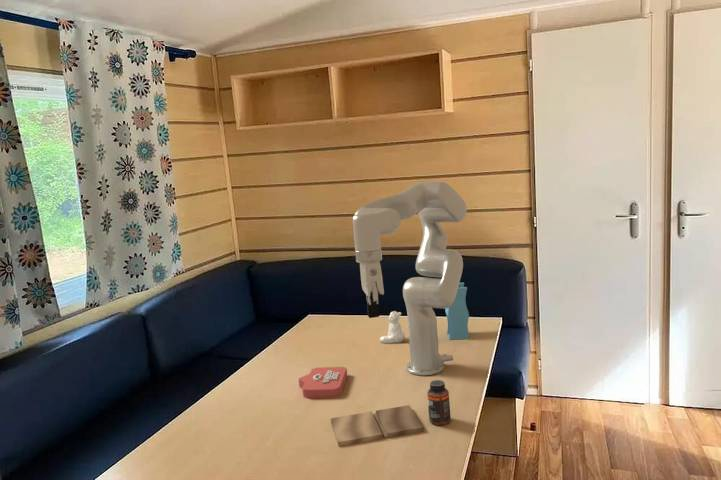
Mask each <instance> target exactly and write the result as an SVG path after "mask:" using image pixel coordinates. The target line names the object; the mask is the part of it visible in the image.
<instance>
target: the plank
mask: <svg viewBox="0 0 721 480" xmlns="http://www.w3.org/2000/svg"><path fill="white" fill-rule="evenodd" d="M373 413H374V412H373V411H366V412H361V413H360V412H359V413H355V414H348V415H343V416H337V417H331V418H330V424H331V427H332V430H333V433H334V436H335V440H336V443H337V446H338V447H340V446H342V447H343V446H348V445H353V444H358V443H365V442H371V441H375V440H382V439H384V437H383V434H382V432H381V430H380V428H379V426H378V424H377V422H376V419H375V417H374V415H373Z"/></svg>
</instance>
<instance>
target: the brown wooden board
mask: <svg viewBox="0 0 721 480" xmlns="http://www.w3.org/2000/svg"><path fill="white" fill-rule="evenodd" d="M372 413H373V415H374V417H375V420H376V422H377V424H378V426H379V428H380V430H381V432H382V435H383V439H387V438H391V437H399V436H404V435H410V434H415V433H421V432H422V433H423V432H424V426H423V425H422V424H421V422H420V419H419V418H418V416H417V415H416V413H415V412H414V410H413V409H412V406H410V404H407V405H402V406H395V407H390V408H384V409H379V410H375V412H372Z"/></svg>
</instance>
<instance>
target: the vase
mask: <svg viewBox="0 0 721 480" xmlns="http://www.w3.org/2000/svg"><path fill="white" fill-rule="evenodd" d="M467 290H468V287H467V286H465V282H459V286H458V290H457V294H456V297H455V300H454V303H453V304H452V306H451V307H449V308H446V309H444V310H445V315H446V319H447V328H446V329H447V330H446V335H448V336H449V341H454V340H469V338H470V333H469V326H468V325H469V324H468V323H469V318H470V313H469V310H468V307H467V302H466V296H467Z"/></svg>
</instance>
